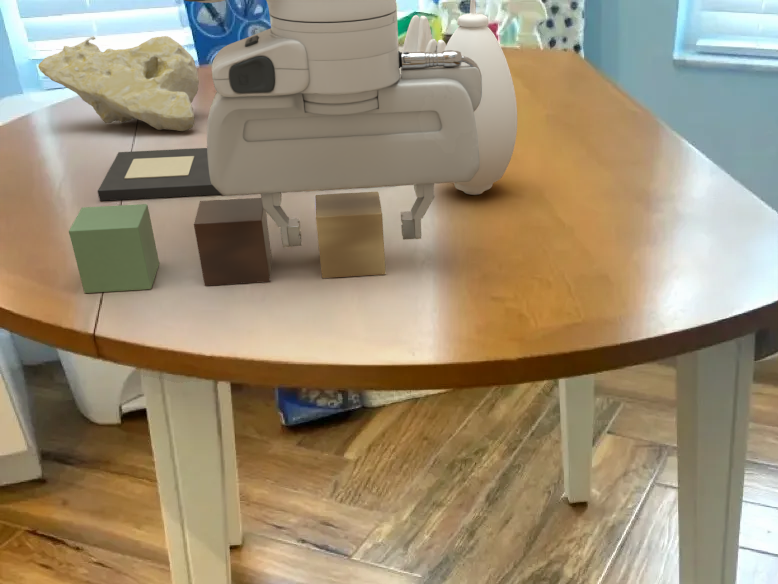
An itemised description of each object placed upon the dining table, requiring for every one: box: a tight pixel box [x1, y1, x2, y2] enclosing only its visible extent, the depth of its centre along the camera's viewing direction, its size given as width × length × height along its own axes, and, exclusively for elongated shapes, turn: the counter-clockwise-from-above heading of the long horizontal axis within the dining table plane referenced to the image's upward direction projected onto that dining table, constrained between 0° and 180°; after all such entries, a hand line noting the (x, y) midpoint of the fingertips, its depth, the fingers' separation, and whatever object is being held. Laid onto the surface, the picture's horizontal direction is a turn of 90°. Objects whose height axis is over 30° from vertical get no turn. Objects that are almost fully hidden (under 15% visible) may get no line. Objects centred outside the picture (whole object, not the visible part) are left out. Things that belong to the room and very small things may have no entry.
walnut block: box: [193, 197, 273, 287], centre depth 75 cm, size 5×5×5 cm
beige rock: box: [38, 35, 200, 132], centre depth 110 cm, size 15×7×15 cm
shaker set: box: [402, 14, 447, 67], centre depth 107 cm, size 12×4×11 cm, turn 18°
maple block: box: [314, 191, 387, 279], centre depth 76 cm, size 5×5×5 cm
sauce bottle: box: [442, 0, 518, 196], centre depth 86 cm, size 8×8×18 cm
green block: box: [68, 203, 160, 294], centre depth 74 cm, size 5×5×5 cm
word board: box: [97, 147, 222, 202], centre depth 96 cm, size 28×12×1 cm, turn 97°
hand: (352, 240), depth 76 cm, fingers open, 8 cm apart
